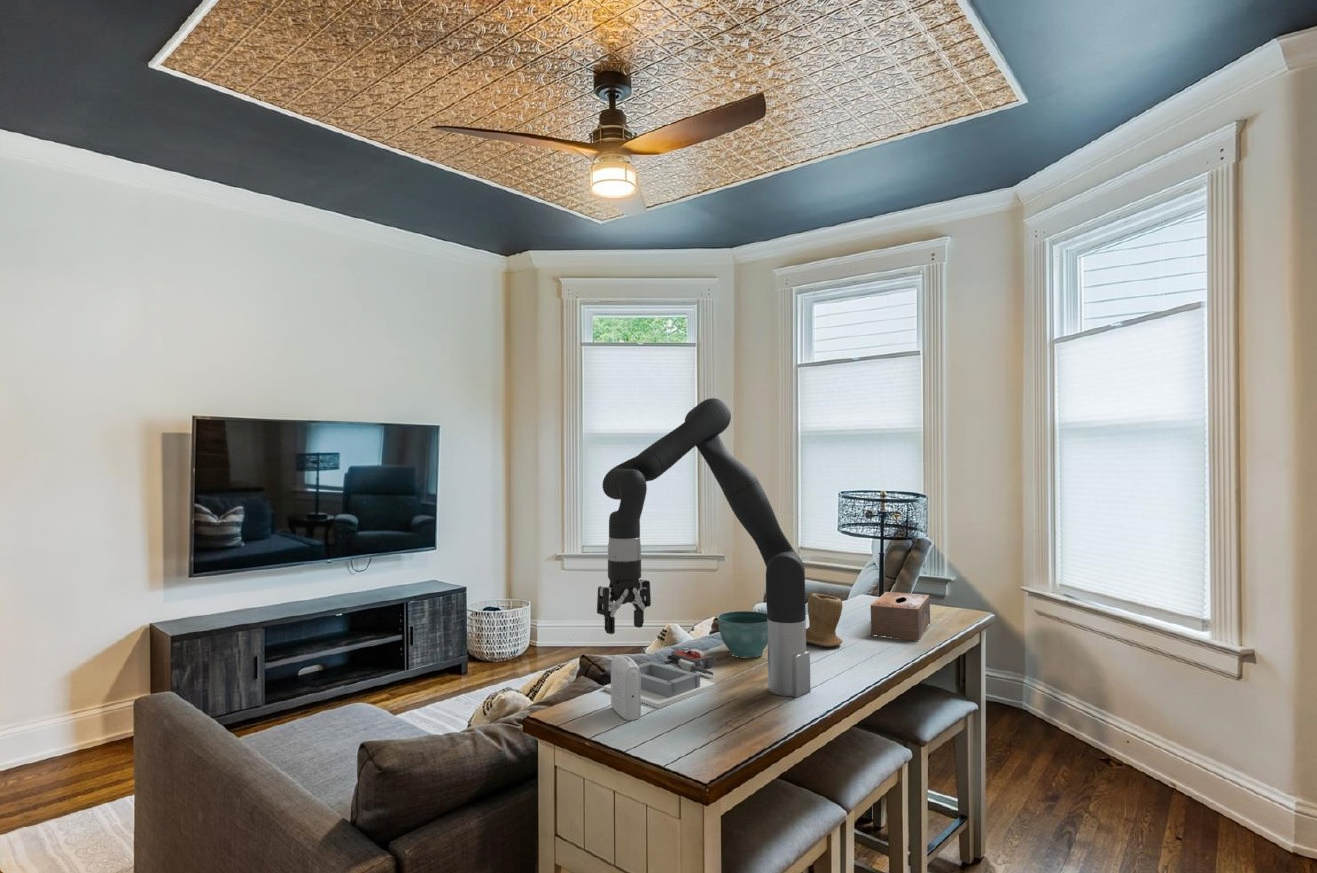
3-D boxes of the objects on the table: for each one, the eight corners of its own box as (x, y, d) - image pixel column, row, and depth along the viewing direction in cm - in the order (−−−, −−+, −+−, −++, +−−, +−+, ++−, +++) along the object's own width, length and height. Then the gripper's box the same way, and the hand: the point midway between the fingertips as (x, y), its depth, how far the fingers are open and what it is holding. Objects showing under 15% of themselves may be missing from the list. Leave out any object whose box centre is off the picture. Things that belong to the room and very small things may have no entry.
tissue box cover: (919, 642, 214) (918, 609, 215) (871, 637, 221) (870, 605, 222) (930, 624, 237) (929, 595, 237) (886, 620, 244) (885, 591, 244)
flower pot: (748, 666, 190) (747, 625, 191) (706, 654, 202) (705, 616, 203) (785, 654, 201) (785, 616, 201) (743, 644, 213) (743, 608, 213)
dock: (715, 687, 172) (715, 671, 172) (658, 708, 158) (658, 690, 158) (660, 672, 185) (659, 656, 185) (603, 690, 171) (603, 673, 171)
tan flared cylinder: (851, 644, 211) (850, 595, 212) (827, 651, 203) (826, 600, 204) (811, 635, 223) (810, 588, 223) (787, 641, 215) (786, 593, 216)
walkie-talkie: (661, 663, 195) (709, 680, 179) (660, 647, 195) (709, 662, 179) (684, 657, 200) (734, 673, 184) (684, 642, 200) (733, 656, 185)
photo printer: (643, 719, 151) (643, 661, 152) (625, 722, 150) (624, 664, 150) (626, 704, 161) (625, 650, 161) (608, 707, 159) (608, 652, 159)
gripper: (611, 562, 149) (611, 639, 148) (658, 555, 159) (658, 627, 159) (589, 559, 154) (589, 633, 154) (635, 553, 164) (636, 622, 164)
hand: (624, 630), depth 156 cm, fingers open, 8 cm apart
